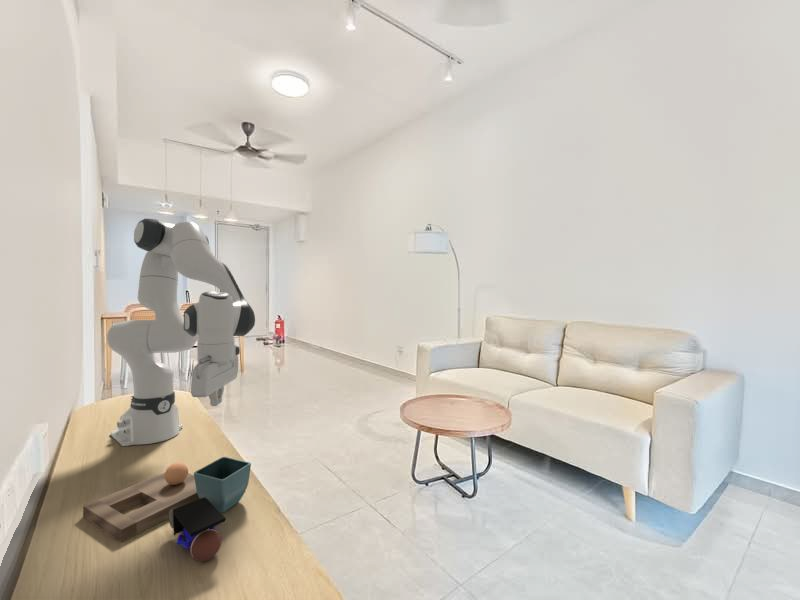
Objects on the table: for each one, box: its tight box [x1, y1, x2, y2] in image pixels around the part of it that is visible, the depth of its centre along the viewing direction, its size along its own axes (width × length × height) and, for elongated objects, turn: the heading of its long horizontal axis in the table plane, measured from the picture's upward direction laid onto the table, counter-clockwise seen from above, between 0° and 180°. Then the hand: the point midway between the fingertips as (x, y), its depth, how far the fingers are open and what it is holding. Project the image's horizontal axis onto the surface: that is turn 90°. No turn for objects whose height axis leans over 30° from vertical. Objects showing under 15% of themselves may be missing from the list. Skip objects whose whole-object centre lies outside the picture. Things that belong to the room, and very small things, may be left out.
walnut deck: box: [82, 472, 199, 543], centre depth 86 cm, size 16×20×2 cm
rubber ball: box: [164, 461, 189, 485], centre depth 91 cm, size 5×5×5 cm
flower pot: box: [193, 456, 252, 514], centre depth 86 cm, size 9×9×9 cm
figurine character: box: [168, 497, 227, 562], centre depth 73 cm, size 7×8×15 cm
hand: (216, 404), depth 99 cm, fingers closed
